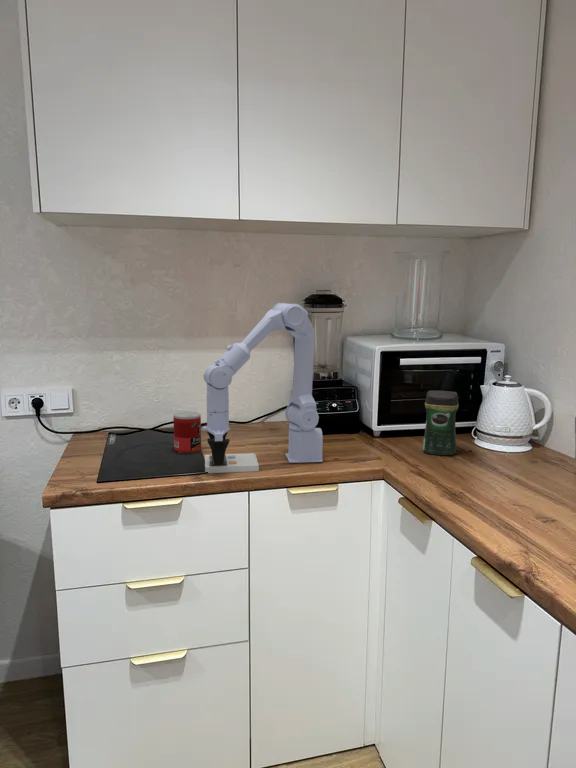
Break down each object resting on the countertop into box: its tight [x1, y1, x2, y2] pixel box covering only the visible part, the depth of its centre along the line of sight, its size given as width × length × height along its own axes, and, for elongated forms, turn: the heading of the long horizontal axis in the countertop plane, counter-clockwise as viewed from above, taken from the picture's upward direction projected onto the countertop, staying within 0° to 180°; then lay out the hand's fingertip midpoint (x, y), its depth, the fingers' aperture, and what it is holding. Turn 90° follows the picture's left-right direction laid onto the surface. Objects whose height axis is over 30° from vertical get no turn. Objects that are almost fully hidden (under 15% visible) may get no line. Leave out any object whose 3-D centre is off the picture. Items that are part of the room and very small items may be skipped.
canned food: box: [173, 411, 202, 454], centre depth 168 cm, size 8×8×11 cm
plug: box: [211, 454, 225, 466], centre depth 152 cm, size 3×3×7 cm
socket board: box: [204, 452, 260, 474], centre depth 155 cm, size 14×11×2 cm
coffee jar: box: [422, 390, 460, 456], centre depth 169 cm, size 10×8×19 cm
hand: (218, 460), depth 152 cm, fingers open, 7 cm apart
